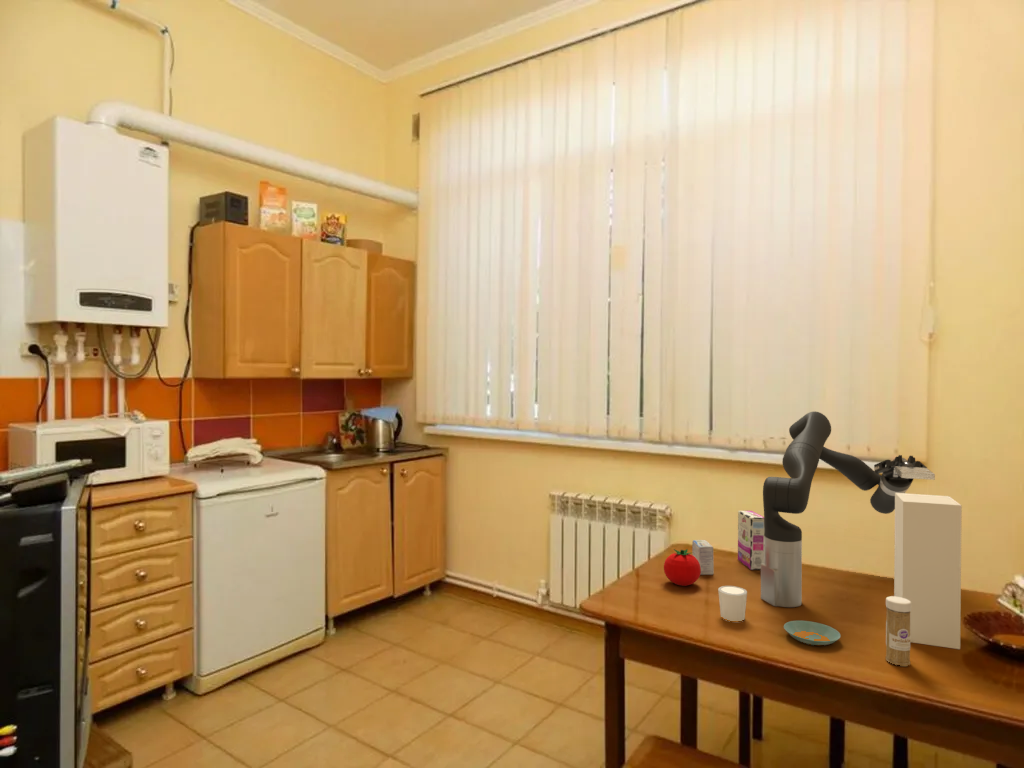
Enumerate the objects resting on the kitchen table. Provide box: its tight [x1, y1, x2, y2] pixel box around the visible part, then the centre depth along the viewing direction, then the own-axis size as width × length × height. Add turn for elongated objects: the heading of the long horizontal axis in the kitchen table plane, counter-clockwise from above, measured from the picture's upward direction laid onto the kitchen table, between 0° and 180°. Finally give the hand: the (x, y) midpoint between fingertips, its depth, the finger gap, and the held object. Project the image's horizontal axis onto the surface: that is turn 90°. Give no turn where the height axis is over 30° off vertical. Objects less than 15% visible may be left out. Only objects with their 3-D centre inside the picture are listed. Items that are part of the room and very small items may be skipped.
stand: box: [893, 492, 963, 650], centre depth 144 cm, size 11×11×32 cm
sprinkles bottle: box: [885, 595, 911, 667], centre depth 131 cm, size 5×5×14 cm
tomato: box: [663, 548, 701, 587], centre depth 179 cm, size 10×10×10 cm
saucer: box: [783, 619, 842, 646], centre depth 143 cm, size 12×12×2 cm
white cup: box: [717, 585, 748, 622], centre depth 155 cm, size 7×7×7 cm
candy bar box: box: [737, 510, 764, 571], centre depth 197 cm, size 11×5×16 cm, turn 1°
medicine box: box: [691, 539, 715, 576], centre depth 191 cm, size 8×4×9 cm, turn 179°
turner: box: [895, 457, 936, 481], centre depth 163 cm, size 21×7×2 cm, turn 157°
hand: (906, 458), depth 167 cm, fingers closed on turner, 2 cm apart
